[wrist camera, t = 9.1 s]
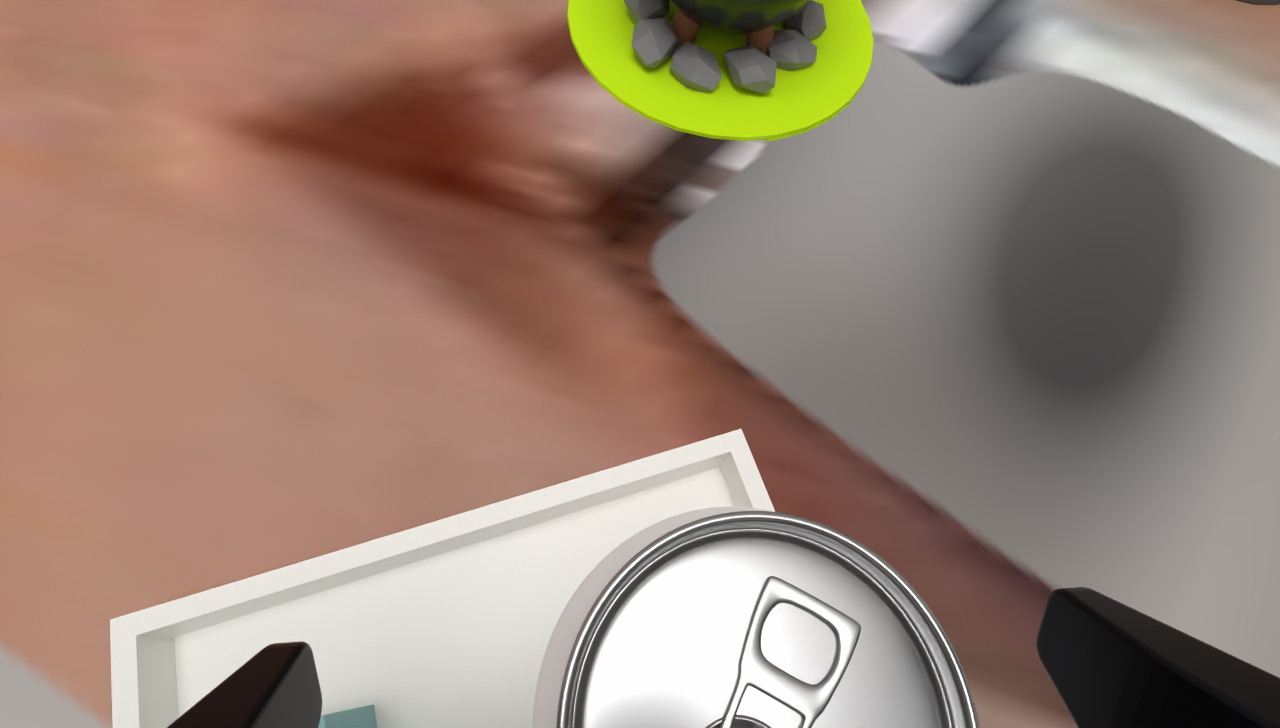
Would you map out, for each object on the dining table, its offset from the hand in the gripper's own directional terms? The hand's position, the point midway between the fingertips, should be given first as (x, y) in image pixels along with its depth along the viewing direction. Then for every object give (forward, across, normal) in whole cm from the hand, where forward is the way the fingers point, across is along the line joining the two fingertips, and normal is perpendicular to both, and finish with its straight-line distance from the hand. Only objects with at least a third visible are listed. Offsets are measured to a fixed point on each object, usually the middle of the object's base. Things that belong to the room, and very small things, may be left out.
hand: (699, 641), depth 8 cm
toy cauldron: (+29, -6, -10) cm, 32 cm away
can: (+9, -1, +10) cm, 13 cm away
